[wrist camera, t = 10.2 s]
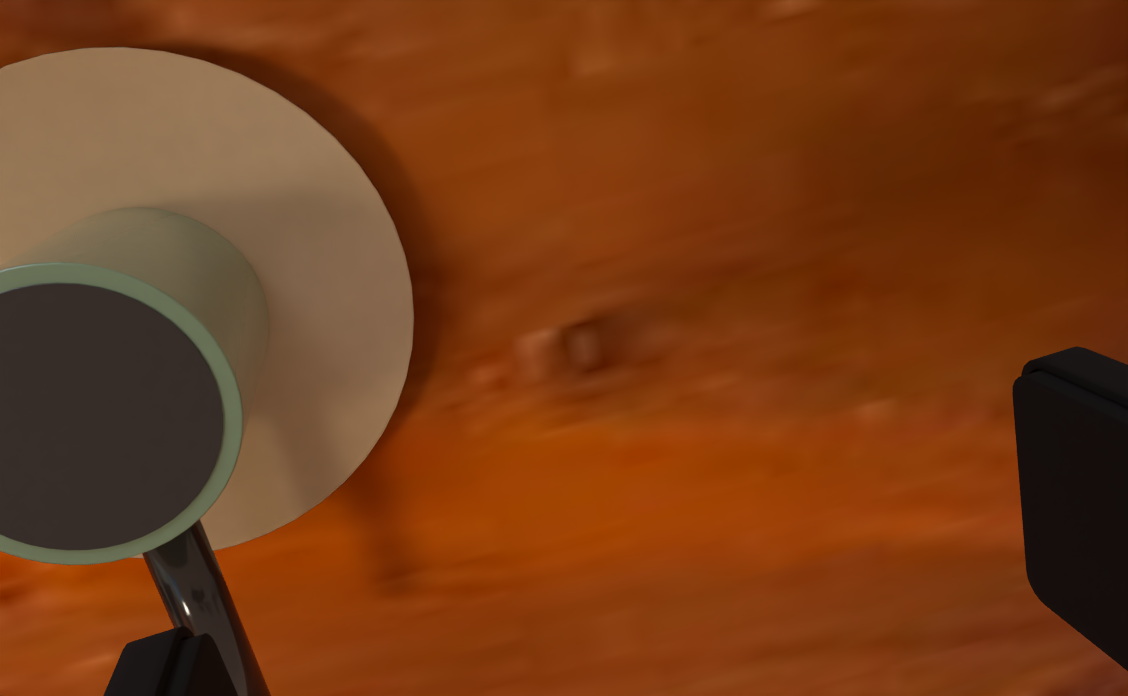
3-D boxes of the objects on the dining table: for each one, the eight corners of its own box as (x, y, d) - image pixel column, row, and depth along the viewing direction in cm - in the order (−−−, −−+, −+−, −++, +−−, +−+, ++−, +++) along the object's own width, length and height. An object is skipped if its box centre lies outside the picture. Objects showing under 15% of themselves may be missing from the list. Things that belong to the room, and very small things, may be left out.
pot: (-248, 121, 24) (-570, 148, 15) (329, -8, 26) (325, -46, 18) (47, 708, 30) (-67, 955, 21) (493, 564, 32) (547, 737, 24)
